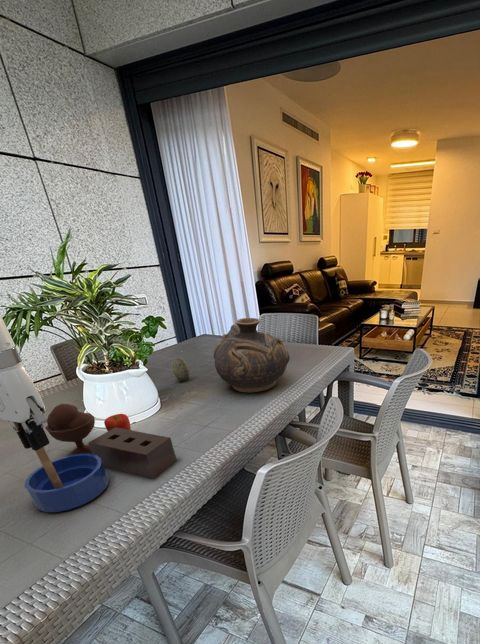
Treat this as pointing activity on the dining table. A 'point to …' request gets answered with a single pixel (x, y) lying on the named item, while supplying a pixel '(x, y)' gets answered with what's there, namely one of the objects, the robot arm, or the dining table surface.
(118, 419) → the apple
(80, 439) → the ice cream bowl
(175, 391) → the dining table surface
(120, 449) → the block
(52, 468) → the cooking stick
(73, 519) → the dining table surface
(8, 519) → the dining table surface
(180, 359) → the decorative egg
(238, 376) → the vessel
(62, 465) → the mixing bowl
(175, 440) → the dining table surface
